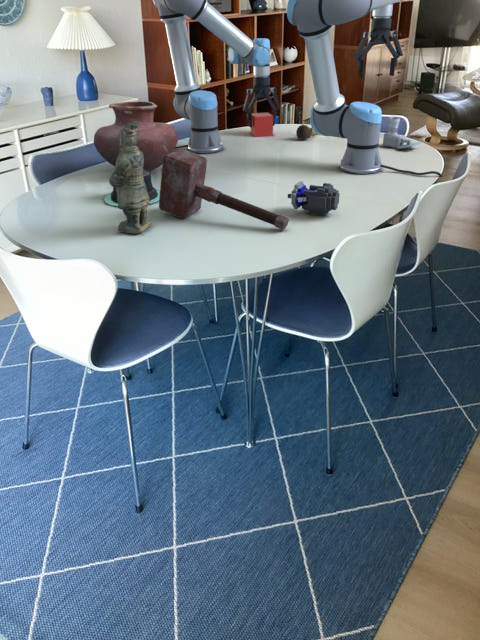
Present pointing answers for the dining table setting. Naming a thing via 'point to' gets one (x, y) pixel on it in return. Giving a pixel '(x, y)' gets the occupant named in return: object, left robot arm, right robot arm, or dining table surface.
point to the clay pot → (137, 134)
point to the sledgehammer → (200, 190)
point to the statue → (131, 182)
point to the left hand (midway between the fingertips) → (261, 126)
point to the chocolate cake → (152, 192)
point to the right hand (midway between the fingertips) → (376, 76)
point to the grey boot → (396, 136)
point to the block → (262, 124)
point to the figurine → (304, 132)
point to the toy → (315, 198)
